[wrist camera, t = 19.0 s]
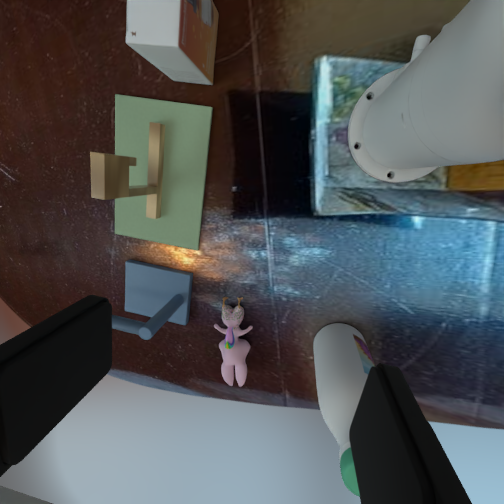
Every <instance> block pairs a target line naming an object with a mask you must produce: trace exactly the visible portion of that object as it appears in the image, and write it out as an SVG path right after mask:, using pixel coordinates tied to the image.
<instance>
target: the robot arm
mask: <svg viewBox="0 0 504 504" xmlns="http://www.w3.org/2000/svg"><path fill="white" fill-rule="evenodd" d="M430 39H431V37H430V36H428V35H421V36H418V37H417V38H416V41H415V45H414V48H413V52H412V53H413V54H412V58H411V61H410V62H409V63H407V64H405V65H404V66H403V67H402V68H400V69H396V70H394V71H392V72H389V73H387V74H385V75H384V76H382V77H381V78H379V79H378V80H376V81H375V82H374V83H373V84H372V85H371V86H370V87H369V88H368V89H367V90H366V91H365V92H364V93H363V95H362V96H361V97H360V99H359V100H358V102H357V104H356V105H355V107H354V110H353V112H352V114H351V117H350V121H349V125H348V144H349V149H350V151H351V154H352V157H353V158H354V160H355V162H356V163H357V165H358V166H359V167H360V168H361V169H362V170H363V171H364V172H365V173H367V174H368V175H370V176H371V177H374V178H376V179H378V180H382V181H387V182H407V181H411V180H415V179H418V178H420V177H423V176H425V175H427V174H429V173H430V172H432V171H434V170H435V169H437V168H438V167H439V166H450V165H462V164H475V163H483V162H493V161H499V160H504V0H470V2H469V3H468V4H467V5H466V6H465V7H464V8H463V9H462V10H461V12H460V13H459V14H458V15H457V16H456V17H455V18H454V19H453V20H452V21H451V22H450V23H448V24H446V25H444V26H443V28H442V31H441V32H440V34H439V35H438V36H437V37H436V38H435V39H434V40H433V41H432V42H431V43H430V44H429V42H430ZM367 96H370V100H367ZM355 145H358V148H357V149H355V148H354V146H355ZM388 173H390V174H391V176H390V177H387V174H388ZM111 365H112V305H111V304H110V303H109V301H108V299H106V298H103V297H99V296H95V295H89V296H87V297H85V298H83V299H81V300H80V301H78V302H76V303H74V304H72V305H71V306H69V307H67V308H65V309H64V310H62V311H60V312H58V313H56V314H55V315H53V316H51V317H49V318H47V319H46V320H44V321H42V322H40V323H39V324H37V325H35V326H33V327H31V328H30V329H28V330H26V331H25V332H22V333H21V334H19V335H17V336H15V337H14V338H12V339H10V340H8V341H6V342H5V343H3V344H1V345H0V477H1V476H2V475H3V474H4V473H5V472H6V471H7V470H8V469H9V468H10V467H11V466H12V465H16V464H18V463H19V462H20V461H22V460H23V459H24V458H25V456H27V455H28V454H29V453H30V452H31V451H32V449H34V448H35V446H36V445H38V443H39V442H40V441H41V440H42V439H43V438H44V437H45V436H46V435H47V434H48V433H49V432H50V431H51V430H52V429H53V428H54V427H55V426H56V425H57V424H58V423H59V422H60V421H61V420H62V419H63V418H64V417H65V416H66V415H67V414H68V413H69V412H70V411H71V410H72V409H73V408H74V407H75V406H76V405H77V404H78V403H79V402H80V401H81V400H82V399H83V398H84V396H86V395H87V393H88V392H90V391H91V390H92V388H93V387H94V386H95V385H96V384H97V383H98V382H99V381H100V380H101V379H102V378H103V377H104V376H105V375H106V374H107V373H108V372H109V370H110V368H111ZM349 440H350V446H351V451H352V457H353V462H354V467H355V473H356V478H357V483H358V489H359V494H360V499H361V504H472V503H471V501H470V499H469V497H468V495H467V493H466V491H465V489H464V488H463V486H462V484H461V482H460V480H459V478H458V476H457V475H456V472H455V470H454V469H453V467H452V465H451V463H450V461H449V459H448V458H447V456H446V453H445V451H444V450H443V448H442V446H441V444H440V442H439V440H438V438H437V436H436V434H435V433H434V431H433V429H432V427H431V425H430V424H429V422H427V421H426V419H425V417H424V415H423V413H422V411H421V409H420V407H419V405H418V403H417V401H416V399H415V397H414V396H413V394H412V392H411V390H410V388H409V386H408V384H407V382H406V380H405V378H404V376H403V374H402V372H401V371H400V369H399V368H397V367H394V366H390V365H385V364H381V363H379V364H378V365H377V366H376V367H374V366H372V367H371V369H370V371H369V374H368V377H367V380H366V383H365V385H364V388H363V391H362V394H361V397H360V400H359V403H358V406H357V409H356V412H355V414H354V417H353V420H352V423H351V426H350V431H349ZM0 504H52V503H49V502H46V501H43V500H41V499H38V498H35V497H32V496H29V495H26V494H23V493H20V492H17V491H14V490H11V489H8V488H5V487H2V486H0Z"/></svg>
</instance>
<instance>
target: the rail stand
mask: <svg viewBox="0 0 504 504" xmlns="http://www.w3.org/2000/svg"><path fill="white" fill-rule="evenodd" d="M192 280H193V273H190V272H186V271H181V270H176V269H172V268H167V267H162V266H158V265H153V264H149V263H144V262H139V261H135V260H128V261H126V279H125V311H128V312H132V313H137V314H141V315H145V316H149V317H152V318H151V319H150V320H149V321H148V322H147V323H144V322H140V321H136V320H132V319H128V318H124V317H119V316H115V315H112V328H113V329H117V330H121V331H125V332H129V333H133V334H137V335H140V337H141V338H142V339H144V340H149V339H150V338H151V337H152V336H153V335H154V334H155V333H156V332H157V331H158V330H159V329H160V328H161V327H162V326H163V324H164V323H165V322H166V321H170V322H174V323H178V324H182V325H186V324H187V323H188V321H189V311H190V301H191V290H192Z"/></svg>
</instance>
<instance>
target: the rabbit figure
mask: <svg viewBox="0 0 504 504" xmlns="http://www.w3.org/2000/svg"><path fill="white" fill-rule="evenodd" d="M228 298H229V297H228ZM237 298H238V297H237ZM226 299H227V297H223V306H222V320H223V322H224V324H225V325H226V326H228V328H227V329H222V328H220V327H219V326H218V325H217V324H214V327H215V328H216V329H217V330H219V331H220V332H222V333H224V334H226V337H225V339H224V340H223V341H221V342H220V344H219V348H220V350H221V352H222V357H223V360H224V362H223V364H222V367H221V370H222V376H223V379H224V380H225V381H226V383H228V384H229V385H230V386H233V380H234V365H235V373H236V379H237V382H238V384H239V386H240V387H241V386H242V385H243V384H244V382H245V380H246V375H247V365H246V362H245V358H246V356H247V354H248V352H249V350H250V344H249V343H248V342H247V341H246V340H244V339H239V338H238V337H239V336H241V335H244V334H246V333H248V332H249V331H250V330H251V329H252V328H253V327H252V326H251V325H250V326H249V327H248V328H247V329H245V330H241V329H240V327H239V325H240V323H241V321H242V320H243V317H244V309H243V307H241V306H240V301H241V299H243V298H238V306H236V307H235V308H234V309H233V308H232V307H231V306H229V305H225V300H226Z"/></svg>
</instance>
